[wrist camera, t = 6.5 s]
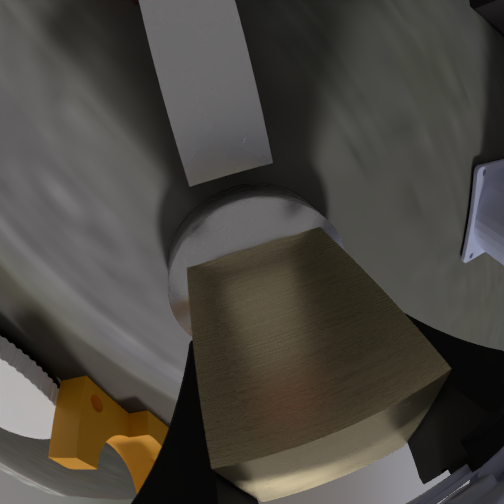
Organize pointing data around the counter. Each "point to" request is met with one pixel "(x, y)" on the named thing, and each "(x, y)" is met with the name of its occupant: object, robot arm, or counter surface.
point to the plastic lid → (25, 394)
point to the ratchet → (217, 138)
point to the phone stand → (491, 12)
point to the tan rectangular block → (303, 365)
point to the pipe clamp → (102, 430)
